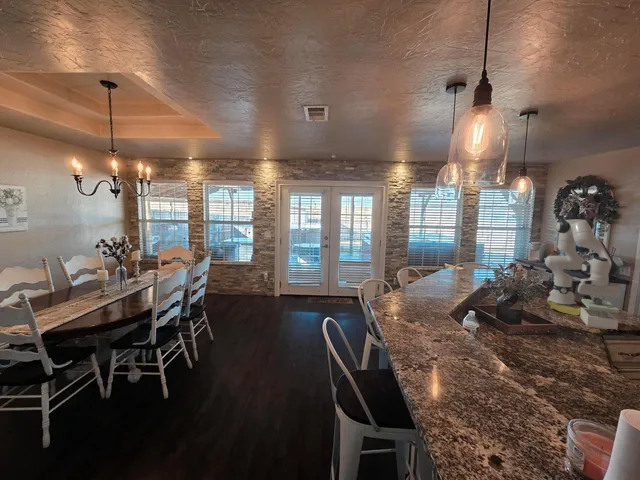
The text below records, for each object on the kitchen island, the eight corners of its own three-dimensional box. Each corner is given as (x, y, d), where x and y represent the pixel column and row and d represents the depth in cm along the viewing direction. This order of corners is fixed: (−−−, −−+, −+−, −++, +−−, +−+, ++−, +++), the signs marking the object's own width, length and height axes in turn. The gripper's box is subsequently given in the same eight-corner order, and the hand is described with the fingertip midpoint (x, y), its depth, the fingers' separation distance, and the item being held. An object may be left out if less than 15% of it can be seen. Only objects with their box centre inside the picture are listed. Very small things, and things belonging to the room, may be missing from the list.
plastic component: (580, 309, 213) (581, 306, 206) (578, 318, 212) (579, 316, 205) (547, 301, 227) (546, 299, 220) (545, 310, 225) (544, 308, 218)
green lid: (581, 301, 202) (582, 293, 201) (608, 304, 194) (609, 296, 194) (588, 309, 185) (589, 300, 185) (619, 313, 178) (619, 304, 177)
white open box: (580, 317, 203) (581, 305, 202) (607, 321, 196) (608, 308, 195) (587, 326, 186) (588, 313, 185) (617, 331, 179) (618, 317, 178)
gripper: (619, 282, 186) (617, 303, 187) (577, 279, 197) (576, 298, 198) (622, 284, 181) (620, 305, 182) (580, 280, 192) (578, 300, 193)
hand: (597, 302), depth 190 cm, fingers closed on green lid, 2 cm apart
